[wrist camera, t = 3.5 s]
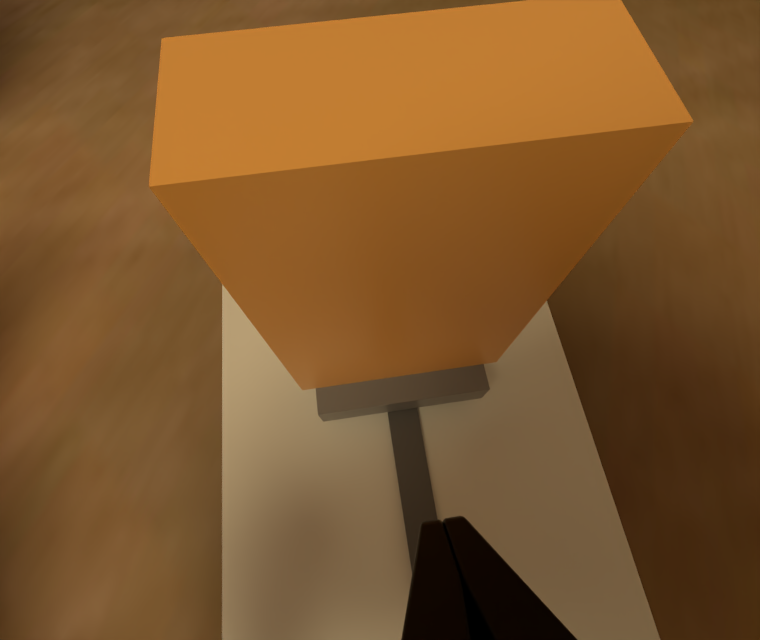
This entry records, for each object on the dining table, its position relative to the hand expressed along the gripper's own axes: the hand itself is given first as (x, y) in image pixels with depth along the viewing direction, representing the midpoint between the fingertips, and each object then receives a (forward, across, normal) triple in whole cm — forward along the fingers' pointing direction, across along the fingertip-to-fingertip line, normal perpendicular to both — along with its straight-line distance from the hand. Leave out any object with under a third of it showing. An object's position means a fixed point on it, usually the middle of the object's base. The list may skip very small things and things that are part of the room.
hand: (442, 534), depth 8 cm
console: (+8, 0, +2) cm, 8 cm away
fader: (+7, 0, 0) cm, 7 cm away
